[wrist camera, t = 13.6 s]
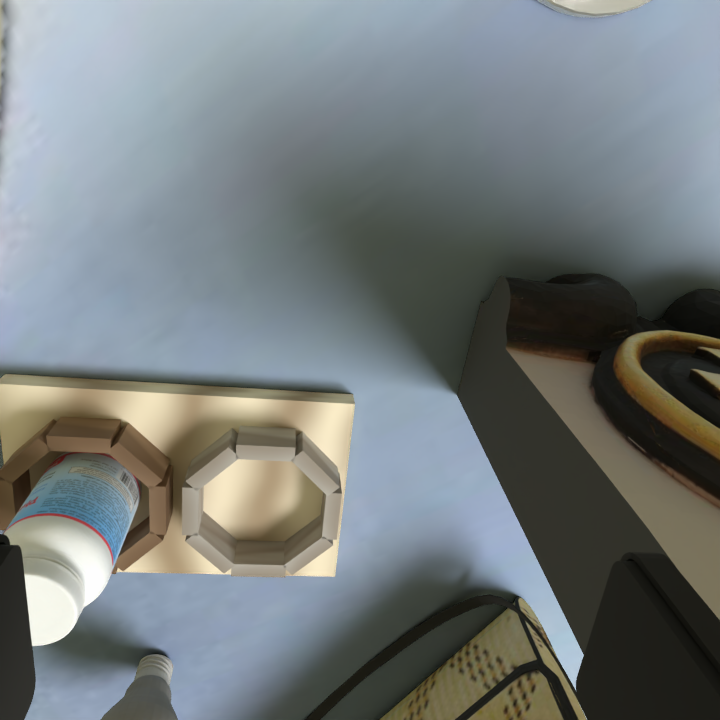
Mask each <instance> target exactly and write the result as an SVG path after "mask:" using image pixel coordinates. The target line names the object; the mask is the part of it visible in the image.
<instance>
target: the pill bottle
mask: <svg viewBox="0 0 720 720" xmlns="http://www.w3.org/2000/svg"><path fill="white" fill-rule="evenodd" d="M141 493H142V486H141V481H140V480H139V479H138V478H136V477H135V476H134V475H133V474H132V473H131V472H129V471H128V470H127V469H126V468H125V467H124V466H122V465H121V464H120V463H119V462H118V461H117V460H115V459H114V458H113V457H112V456H111V455H109V454H108V453H88V452H65V453H63V454H61V455H60V456H58V457H57V458H56V459H55V460H54V461H53V462H52V463H51V464H50V465H49V467H48V468H47V469H46V471H45V472H44V474H43V475H42V477H41V478H40V480H39V481H38V483H37V484H36V486H35V487H34V489H33V490H32V492H31V493H30V495H29V496H28V498H27V499H26V500H25V502H24V503H23V505H22V506H21V508H20V509H19V511H18V512H17V514H16V515H15V517H14V518H13V520H12V521H11V523H10V524H9V526H8V527H7V529H6V530H5V532H4V533H3V534H4V535H7V537H8V538H9V541H10V545H19V546H20V548H21V551H22V557H23V567H24V576H25V585H26V594H27V604H28V613H29V622H30V631H31V641H32V646H41V645H46V644H50V643H53V642H56V641H58V640H60V639H62V638H63V637H65V636H66V635H67V634H68V633H69V632H70V631H71V630H72V629H73V627H74V626H75V624H76V622H77V620H78V617H79V615H80V614H81V612H82V610H83V608H84V607H85V606H87V605H88V604H90V603H91V602H92V601H94V600H95V599H96V598H97V597H98V596H99V595H100V594H101V592H102V591H103V590H104V588H105V586H106V585H107V582H108V580H109V578H110V576H111V573H112V571H113V568H114V566H115V563H116V561H117V558H118V555H119V553H120V550H121V548H122V545H123V543H124V540H125V538H126V535H127V533H128V530H129V528H130V525H131V523H132V520H133V518H134V515H135V512H136V510H137V507H138V505H139V502H140V499H141Z"/></svg>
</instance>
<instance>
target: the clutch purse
mask: <svg viewBox="0 0 720 720" xmlns="http://www.w3.org/2000/svg"><path fill="white" fill-rule="evenodd" d="M488 604H498V605H502V606H506V607H507V609H506V610H505V611H504V612H503V613H502V614H501V615H499V616H498V617H497V618H496V619H495V620H494V621H492V622H491V623H490V624H489V625H488V626H487V627H486V628H484V629H483V630H482V631H481V632H480V633H479V634H478V635H476V636H475V637H474V638H473V639H472V640H471V641H469V642H468V643H467V644H466V645H465V646H464V647H463V648H461V649H460V650H459V651H458V652H457V653H456V654H455V655H453V656H452V657H451V658H450V659H449V660H448V661H446V662H445V663H444V664H443V665H442V666H441V667H440V668H438V669H437V670H436V671H435V672H434V673H433V674H432V675H430V676H429V677H428V678H427V679H426V680H425V681H423V682H422V683H421V684H420V685H419V686H418V687H417V688H415V689H414V690H413V691H412V692H411V693H410V694H409V695H407V696H406V697H405V698H404V699H403V700H402V701H400V702H399V703H398V704H397V705H396V706H395V707H394V708H392V709H391V710H390V711H389V712H388V713H387V714H386V715H384V716H383V717H382V718H381V719H380V720H587V719H586V717H585V715H584V713H583V711H582V709H581V708H582V707H580V706H581V705H579V704H580V703H578V702H579V700H578V696H577V692H576V690H575V688H574V687H573V685H572V683H571V681H570V679H569V678H568V676H567V674H566V672H565V671H564V669H563V667H562V665H561V664H560V662H559V660H558V658H557V656H556V654H555V652H554V650H553V648H552V645H551V643H550V641H549V639H548V637H547V635H546V633H545V631H544V629H543V627H542V625H541V624H540V622H539V620H538V618H537V617H536V615H535V613H534V612H533V610H532V609H531V608H530V606H529V605H528V604H527V602H525V601H524V600H523V599H522V598H519V597H516V599H515V602H514V603H513V604H512V603H510V602H509V601H507V600H505V599H503V598H502V597H498V596H493V595H483V596H476V597H474V598H471V599H468V600H465V601H463V602H461V603H458V604H456V605H454V606H452V607H450V608H448V609H446V610H444V611H442V612H440V613H438V614H436V615H435V616H433V617H431V618H430V619H428V620H426V621H425V622H423V623H422V624H420V625H419V626H417V627H416V628H414V629H413V630H411V631H410V632H408V633H407V634H406V635H404V636H403V637H402V638H400V639H399V640H397V641H396V642H395V643H393V644H392V645H391V646H389V647H388V648H387V649H385V650H384V651H383V652H381V653H380V654H379V655H377V656H376V657H375V658H373V659H372V660H371V661H369V662H368V663H367V664H365V665H364V666H363V667H361V668H360V669H359V670H358V671H357V672H356V673H355V674H354V675H353V676H352V677H350V678H349V679H348V680H347V681H346V682H345V683H344V684H342V685H341V686H340V687H339V688H338V689H337V690H336V691H334V692H333V693H332V694H331V695H330V696H329V697H328V698H327V699H326V700H325V701H324V702H323V703H322V704H321V705H319V706H318V707H317V708H316V709H315V710H314V712H313V713H312V714H311V715H310V716H309V717H308V718H307V719H306V720H320V719H321V718H322V717H323V716H324V715H325V714H326V713H327V712H328V711H329V710H330V709H332V708H333V707H334V706H335V705H336V704H337V703H338V702H339V701H340V700H341V699H342V698H343V697H344V696H345V695H346V694H347V693H349V692H350V691H351V690H352V689H353V688H354V687H355V686H356V685H358V684H359V683H360V682H361V681H362V680H364V679H365V678H366V677H367V676H368V675H370V674H371V673H372V672H374V671H375V670H376V669H378V668H379V667H380V666H382V665H383V664H384V663H386V662H387V661H388V660H390V659H391V658H393V657H394V656H395V655H397V654H398V653H399V652H401V651H402V650H403V649H405V648H406V647H407V646H409V645H410V644H412V643H413V642H414V641H416V640H417V639H419V638H420V637H422V636H423V635H424V634H426V633H428V632H429V631H431V630H432V629H434V628H435V627H437V626H439V625H440V624H442V623H444V622H446V621H448V620H450V619H451V618H453V617H455V616H458V615H460V614H462V613H464V612H466V611H469V610H471V609H474V608H477V607H480V606H482V605H488Z"/></svg>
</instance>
